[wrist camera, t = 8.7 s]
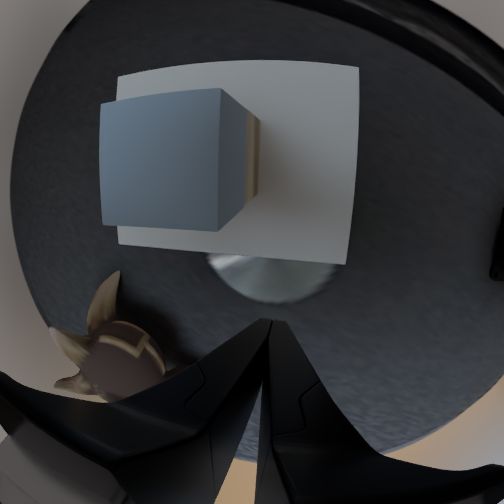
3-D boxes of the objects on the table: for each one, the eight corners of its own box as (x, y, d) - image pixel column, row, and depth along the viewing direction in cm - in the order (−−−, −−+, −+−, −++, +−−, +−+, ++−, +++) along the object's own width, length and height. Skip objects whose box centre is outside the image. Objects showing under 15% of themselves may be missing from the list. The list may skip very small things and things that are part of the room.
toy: (196, 401, 29) (86, 318, 26) (243, 363, 26) (117, 265, 24) (173, 480, 18) (27, 379, 16) (231, 455, 16) (43, 324, 14)
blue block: (247, 110, 13) (220, 87, 8) (244, 207, 15) (217, 232, 10) (157, 115, 14) (101, 104, 9) (156, 203, 15) (102, 224, 11)
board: (357, 69, 16) (358, 67, 15) (344, 262, 20) (345, 264, 20) (121, 77, 18) (118, 76, 18) (121, 242, 23) (118, 243, 22)
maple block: (260, 120, 18) (247, 108, 13) (257, 193, 19) (243, 205, 15) (189, 121, 18) (156, 113, 14) (188, 190, 20) (155, 202, 15)
